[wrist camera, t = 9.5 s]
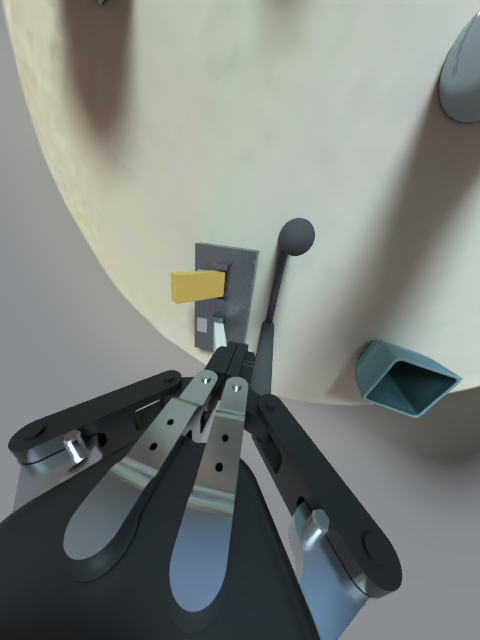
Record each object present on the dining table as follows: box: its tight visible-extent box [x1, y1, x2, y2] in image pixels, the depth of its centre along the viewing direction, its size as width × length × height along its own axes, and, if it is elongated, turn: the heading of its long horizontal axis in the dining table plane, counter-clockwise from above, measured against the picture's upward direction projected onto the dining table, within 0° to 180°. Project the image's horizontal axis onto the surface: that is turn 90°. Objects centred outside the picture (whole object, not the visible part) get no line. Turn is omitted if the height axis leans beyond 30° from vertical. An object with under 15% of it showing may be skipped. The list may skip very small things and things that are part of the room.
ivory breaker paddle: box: [213, 321, 227, 352], centre depth 30 cm, size 2×4×8 cm, turn 173°
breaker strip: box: [195, 243, 259, 351], centre depth 33 cm, size 10×20×5 cm, turn 173°
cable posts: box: [250, 218, 315, 396], centre depth 24 cm, size 2×18×18 cm, turn 173°
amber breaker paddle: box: [171, 270, 225, 304], centre depth 27 cm, size 2×4×8 cm
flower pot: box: [355, 340, 462, 418], centre depth 30 cm, size 9×9×9 cm
